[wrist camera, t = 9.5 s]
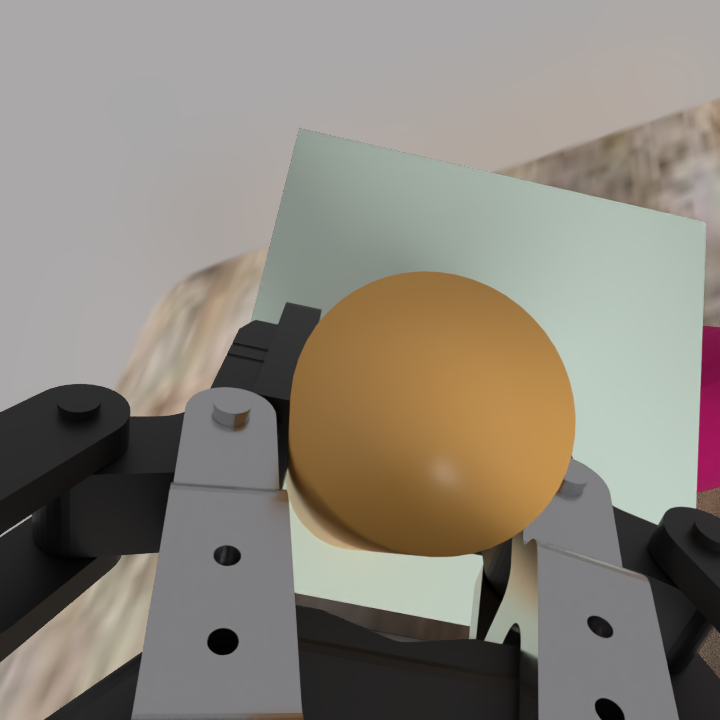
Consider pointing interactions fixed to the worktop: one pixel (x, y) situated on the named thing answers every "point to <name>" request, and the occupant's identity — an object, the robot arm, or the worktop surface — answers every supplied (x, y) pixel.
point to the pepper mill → (709, 412)
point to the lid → (471, 365)
